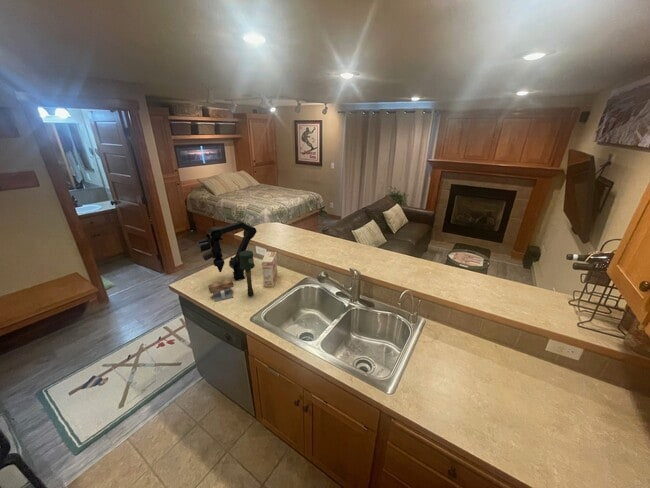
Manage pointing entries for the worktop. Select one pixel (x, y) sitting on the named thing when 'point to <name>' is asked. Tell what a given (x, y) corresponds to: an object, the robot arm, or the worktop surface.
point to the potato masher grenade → (247, 268)
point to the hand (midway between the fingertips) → (219, 268)
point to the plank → (221, 286)
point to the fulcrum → (222, 295)
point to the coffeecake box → (269, 269)
